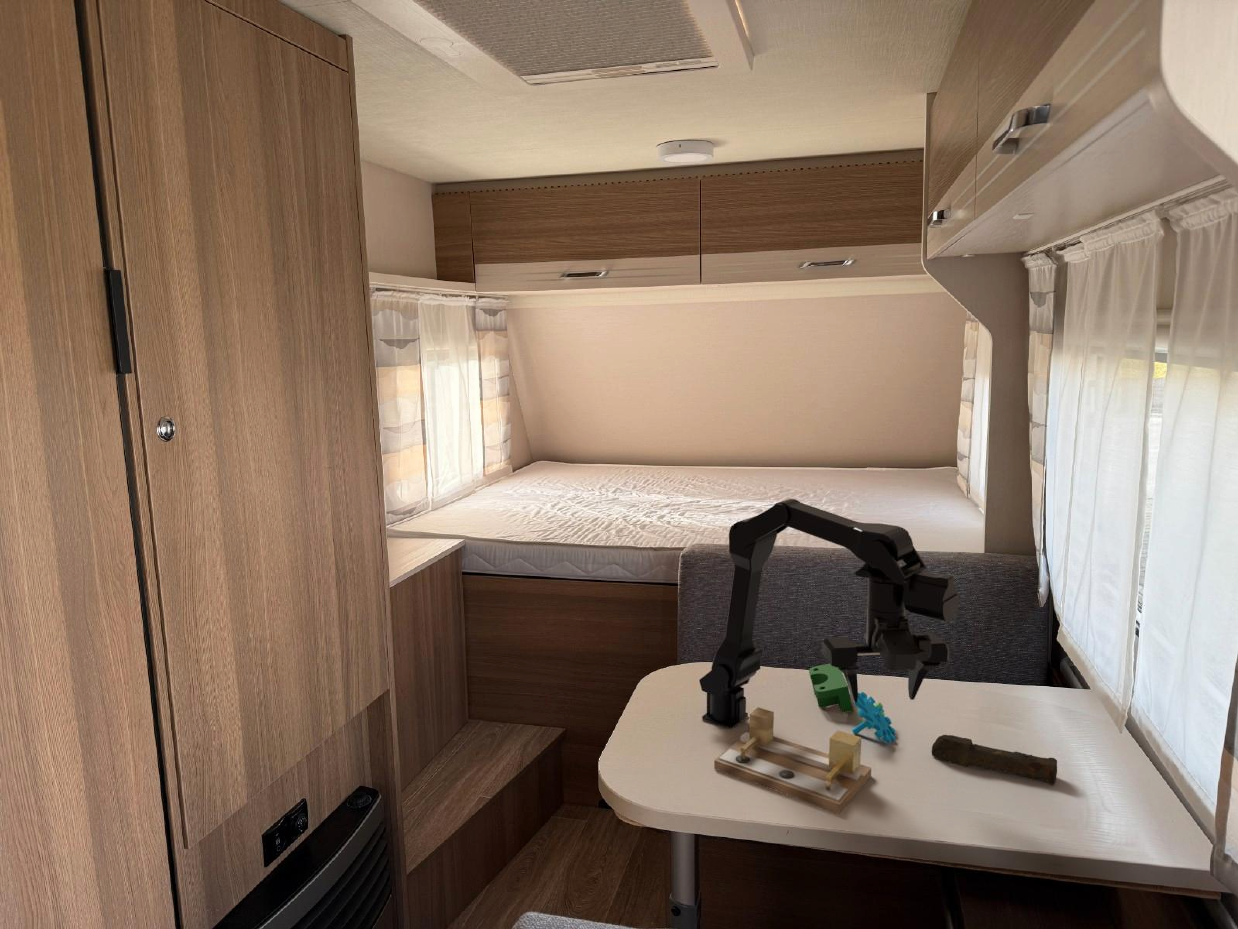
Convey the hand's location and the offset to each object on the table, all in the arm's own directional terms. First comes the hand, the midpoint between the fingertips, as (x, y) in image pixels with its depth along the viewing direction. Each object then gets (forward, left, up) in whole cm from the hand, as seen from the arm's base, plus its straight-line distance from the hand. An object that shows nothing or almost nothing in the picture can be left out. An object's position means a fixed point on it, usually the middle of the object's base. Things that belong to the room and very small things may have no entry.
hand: (883, 700), depth 137 cm
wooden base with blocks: (-12, -7, -14) cm, 20 cm away
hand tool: (+14, +13, -14) cm, 24 cm away
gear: (-6, +13, -14) cm, 20 cm away
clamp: (-18, +22, -14) cm, 31 cm away
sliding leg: (-4, -7, -12) cm, 14 cm away
